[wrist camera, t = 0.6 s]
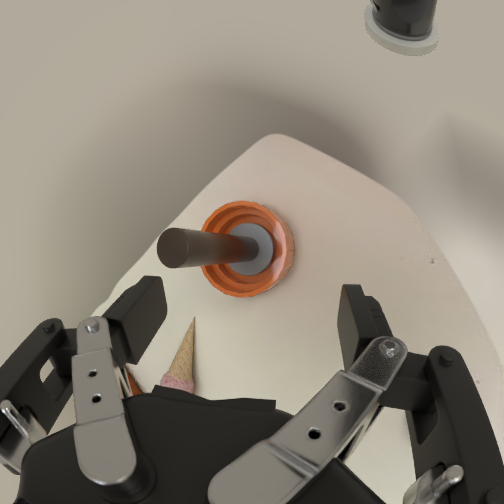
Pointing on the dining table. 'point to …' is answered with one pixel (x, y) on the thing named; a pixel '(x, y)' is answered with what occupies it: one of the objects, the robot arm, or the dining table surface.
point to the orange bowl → (255, 284)
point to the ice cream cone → (182, 365)
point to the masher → (219, 248)
